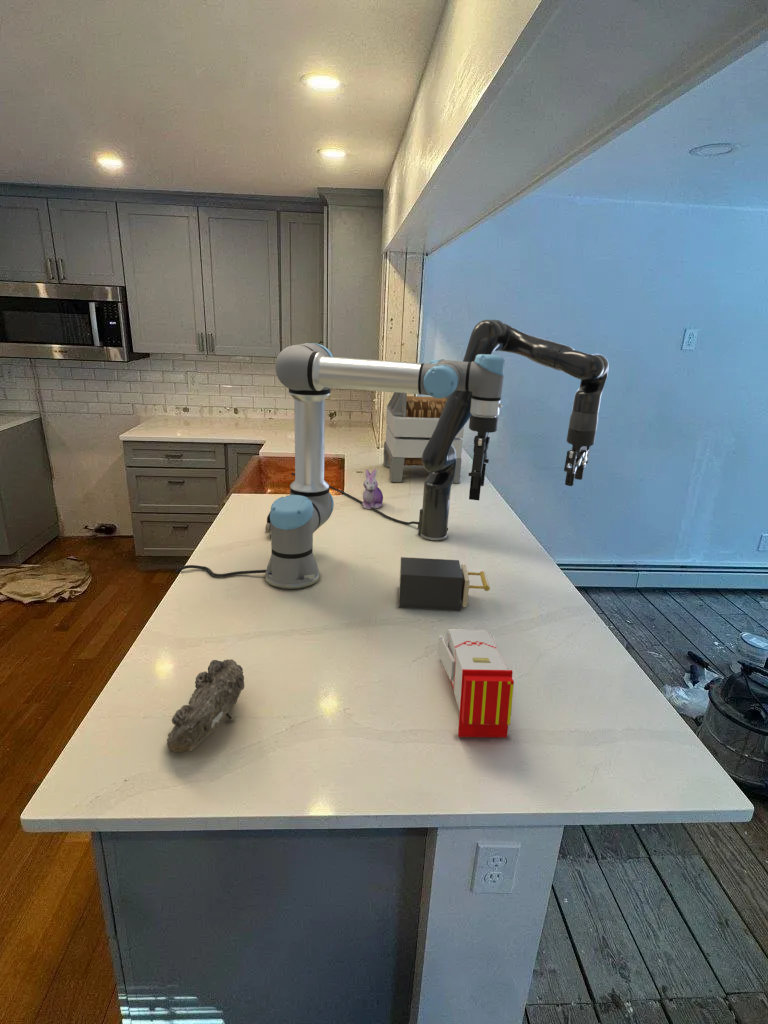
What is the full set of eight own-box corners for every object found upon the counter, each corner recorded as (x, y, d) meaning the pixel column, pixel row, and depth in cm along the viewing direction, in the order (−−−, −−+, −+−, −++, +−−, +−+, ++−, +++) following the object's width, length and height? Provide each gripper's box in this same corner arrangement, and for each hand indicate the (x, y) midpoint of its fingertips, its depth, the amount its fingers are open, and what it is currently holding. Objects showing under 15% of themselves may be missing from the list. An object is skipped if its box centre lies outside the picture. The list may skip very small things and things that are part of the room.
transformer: (382, 463, 289) (386, 382, 275) (445, 464, 293) (451, 384, 279) (390, 482, 257) (394, 392, 243) (460, 483, 261) (468, 394, 247)
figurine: (367, 511, 220) (368, 474, 215) (356, 503, 228) (357, 467, 223) (388, 508, 224) (390, 471, 219) (377, 500, 233) (378, 465, 228)
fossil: (192, 660, 117) (244, 628, 112) (224, 691, 120) (276, 661, 115) (142, 746, 98) (202, 712, 93) (182, 779, 101) (242, 748, 96)
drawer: (483, 590, 160) (485, 565, 157) (487, 608, 151) (491, 581, 148) (410, 586, 160) (412, 561, 158) (410, 603, 151) (412, 577, 148)
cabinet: (456, 591, 161) (459, 560, 158) (459, 610, 150) (462, 577, 147) (399, 588, 161) (401, 557, 158) (398, 607, 151) (400, 574, 147)
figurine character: (285, 543, 190) (291, 523, 204) (284, 523, 187) (290, 504, 201) (265, 543, 190) (272, 522, 204) (263, 523, 187) (271, 503, 200)
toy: (488, 613, 130) (523, 677, 101) (484, 667, 133) (517, 744, 104) (435, 612, 130) (455, 676, 101) (432, 666, 133) (451, 743, 103)
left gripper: (495, 425, 137) (486, 507, 144) (501, 409, 160) (493, 481, 167) (464, 422, 139) (457, 504, 146) (474, 407, 161) (467, 478, 169)
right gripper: (577, 422, 167) (568, 474, 173) (561, 428, 156) (552, 484, 162) (603, 425, 163) (593, 479, 169) (588, 433, 152) (578, 490, 158)
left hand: (476, 492), depth 156 cm, fingers open, 13 cm apart
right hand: (573, 482), depth 165 cm, fingers open, 8 cm apart
